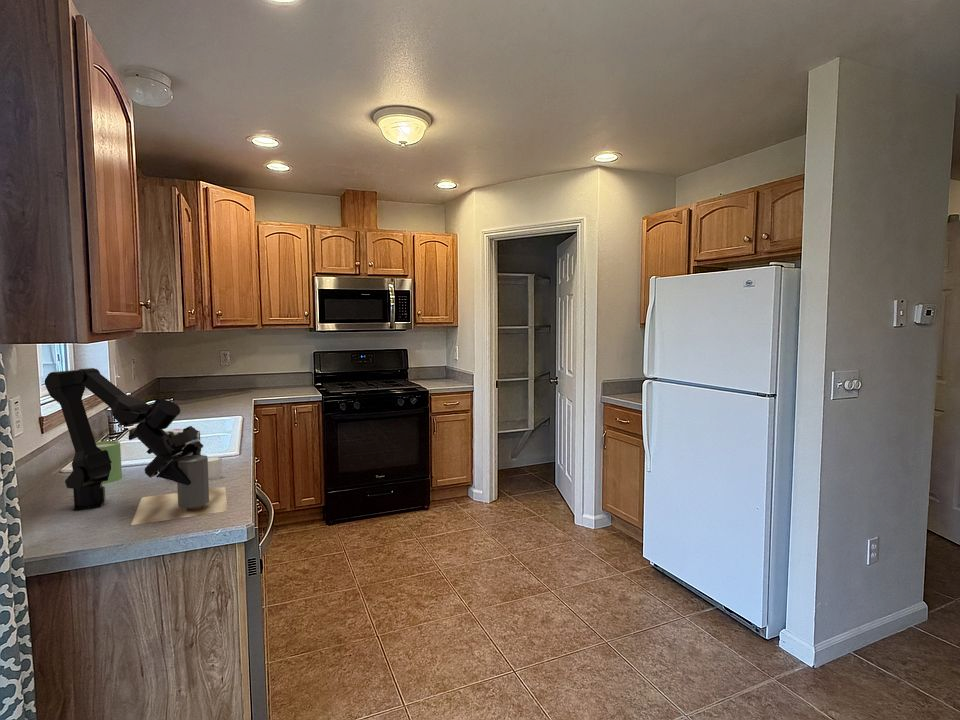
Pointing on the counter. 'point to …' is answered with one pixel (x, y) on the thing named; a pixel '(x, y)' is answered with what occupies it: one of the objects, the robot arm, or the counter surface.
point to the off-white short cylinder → (214, 468)
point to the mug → (112, 459)
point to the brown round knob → (194, 508)
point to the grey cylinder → (194, 481)
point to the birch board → (176, 507)
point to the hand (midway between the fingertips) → (197, 479)
